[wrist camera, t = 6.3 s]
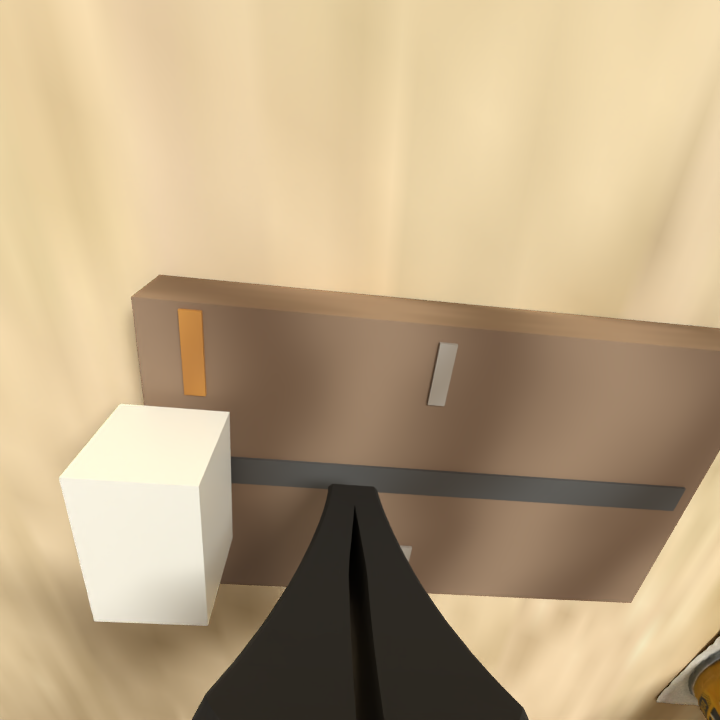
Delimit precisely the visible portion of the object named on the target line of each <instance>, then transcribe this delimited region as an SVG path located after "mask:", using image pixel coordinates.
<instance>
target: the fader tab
mask: <svg viewBox="0 0 720 720" xmlns="http://www.w3.org/2000/svg"><path fill="white" fill-rule="evenodd" d="M59 480H60V484H61V488H62V492H63V496H64V500H65V504H66V508H67V513H68V517H69V521H70V525H71V529H72V533H73V537H74V541H75V545H76V549H77V553H78V557H79V561H80V565H81V570H82V574H83V578H84V582H85V586H86V590H87V594H88V598H89V602H90V606H91V610H92V614H93V618H94V621H99V622H124V623H148V624H173V625H198V626H208V624H209V621H210V617H211V614H212V610H213V606H214V603H215V599H216V596H217V592H218V588H219V585H220V581H221V578H222V574H223V570H224V567H225V563H226V560H227V556H228V553H229V549H230V545H231V542H232V538H233V533H232V492H231V451H230V412H223V411H210V410H197V409H183V408H170V407H157V406H143V405H130V404H119V406H118V407H117V408H116V409H115V410H114V412H113V413H112V414H111V415H110V417H109V418H108V419H107V420H106V421H105V423H104V424H103V425H102V426H101V427H100V429H99V430H98V431H97V432H96V433H95V435H94V436H93V437H92V438H91V439H90V441H89V442H88V443H87V444H86V445H85V447H84V448H83V449H82V450H81V452H80V453H79V454H78V455H77V456H76V458H75V459H74V460H73V461H72V462H71V464H70V465H69V466H68V467H67V468H66V470H65V471H64V472H63V473H62V474H61V476H60V477H59Z"/></svg>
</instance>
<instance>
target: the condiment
mask: <svg viewBox="0 0 720 720" xmlns="http://www.w3.org/2000/svg"><path fill="white" fill-rule="evenodd" d="M657 702H663V703H671V704H676V703H677V704H681V705H684V704H688V705H697V706H699V707H700V709H701V711H702V712H703V714H704V716H705V717H706V718H707V720H720V636H719V637H718V638H717V639H716V641H715V642H714V643H713V645H710V646H709V647H708V648H707V649H706V650H705V651H703V652H702V653H701V654H700V655H698V656H697V657H696V658H695V659H694V660H693V661H692V662H690V664H689V665H688V666H687V667H686V669H685V670H683V671H682V672H681V673H680V674H679V676H677V677H676V678H675V679H674V680H673V681H672V682H671V684H670V685H669V687H667V688H665V689H664V691H663V692H662V693H661V694H660V696H659V697H658V699H657Z"/></svg>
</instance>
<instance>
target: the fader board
mask: <svg viewBox="0 0 720 720" xmlns="http://www.w3.org/2000/svg"><path fill="white" fill-rule="evenodd" d="M131 300H132V308H133V316H134V324H135V332H136V340H137V348H138V356H139V365H140V373H141V381H142V389H143V397H144V405H145V406H157V407H170V408H183V409H197V410H210V411H223V412H230V451H231V492H232V533H233V538H232V542H231V545H230V549H229V553H228V556H227V560H226V563H225V567H224V570H223V574H222V578H221V581H220V584H240V585H261V586H283V587H287V586H288V584H289V583H290V581H291V579H292V577H293V576H294V574H295V572H296V570H297V568H298V567H299V565H300V563H301V561H302V559H303V557H304V555H305V553H306V551H307V549H308V547H309V545H310V542H311V540H312V538H313V535H314V533H315V531H316V528H317V526H318V523H319V521H320V518H321V515H322V512H323V509H324V506H325V503H326V499H327V494H328V486H330V485H331V484H343V485H358V486H373V487H375V488H376V489H377V491H378V495H379V498H380V501H381V504H382V507H383V509H384V512H385V514H386V517H387V519H388V521H389V524H390V526H391V528H392V530H393V533H394V535H395V537H396V539H397V541H398V543H399V545H400V547H401V549H402V551H403V553H404V555H405V557H406V559H407V560H408V562H409V564H410V566H411V567H412V569H413V571H414V573H415V575H416V576H417V578H418V579H419V581H420V583H421V584H422V586H423V588H424V589H425V591H426V592H427V593H431V594H452V595H474V596H495V597H516V598H537V599H558V600H580V601H601V602H622V603H631V602H632V600H633V598H634V597H635V595H636V593H637V592H638V590H639V588H640V586H641V585H642V583H643V581H644V580H645V578H646V576H647V574H648V573H649V571H650V569H651V567H652V566H653V564H654V562H655V561H656V559H657V557H658V555H659V554H660V552H661V550H662V549H663V547H664V545H665V543H666V542H667V540H668V538H669V537H670V535H671V533H672V531H673V530H674V528H675V526H676V525H677V523H678V521H679V519H680V518H681V516H682V514H683V512H684V511H685V509H686V507H687V506H688V504H689V502H690V500H691V499H692V497H693V495H694V494H695V492H696V490H697V488H698V487H699V485H700V483H701V482H702V480H703V478H704V476H705V475H706V473H707V471H708V470H709V468H710V466H711V464H712V463H713V461H714V459H715V457H716V456H717V454H718V452H719V451H720V329H719V328H709V327H698V326H688V325H677V324H667V323H656V322H646V321H635V320H625V319H615V318H604V317H594V316H583V315H573V314H562V313H552V312H541V311H531V310H521V309H510V308H500V307H489V306H479V305H468V304H458V303H448V302H437V301H427V300H416V299H406V298H395V297H385V296H374V295H364V294H354V293H343V292H333V291H322V290H312V289H301V288H291V287H281V286H270V285H260V284H249V283H239V282H228V281H218V280H207V279H197V278H187V277H176V276H166V275H159V276H157V277H156V278H155V279H154V280H152V281H151V282H150V283H148V284H147V285H146V286H144V287H143V288H142V289H141V290H139V291H138V292H137V293H135V294H134V295H133V296H132V297H131Z"/></svg>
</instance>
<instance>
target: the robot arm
mask: <svg viewBox="0 0 720 720" xmlns="http://www.w3.org/2000/svg"><path fill="white" fill-rule="evenodd" d="M192 720H529V719H528V717H527V715H526V712H525V710H524V708H523V707H522V706H521V705H520V704H519V703H518V702H517V701H516V700H515V699H514V698H513V697H512V696H511V695H510V694H509V693H508V692H507V691H506V690H505V689H504V688H503V687H502V686H501V685H500V684H499V683H498V682H497V680H496V679H495V678H494V677H493V676H492V675H491V674H490V673H489V672H488V671H487V670H486V668H485V667H484V666H483V665H482V664H481V663H480V662H479V661H478V659H477V658H476V657H475V656H474V655H473V654H472V653H471V651H470V650H469V649H468V648H467V646H466V645H465V644H464V643H463V641H462V640H461V639H460V638H459V636H458V635H457V634H456V633H455V631H454V630H453V629H452V628H451V626H450V625H449V624H448V622H447V621H446V620H445V618H444V617H443V616H442V614H441V613H440V611H439V610H438V609H437V607H436V606H435V604H434V603H433V601H432V600H431V598H430V597H429V595H428V594H427V592H426V591H425V589H424V588H423V586H422V584H421V583H420V581H419V579H418V578H417V576H416V575H415V573H414V571H413V569H412V567H411V566H410V564H409V562H408V560H407V559H406V557H405V555H404V553H403V551H402V549H401V547H400V545H399V543H398V541H397V539H396V537H395V535H394V533H393V530H392V528H391V526H390V524H389V521H388V519H387V517H386V514H385V512H384V509H383V507H382V504H381V501H380V498H379V495H378V491H377V489H376V488H375V487H373V486H358V485H343V484H331V485H330V486H328V494H327V499H326V503H325V506H324V509H323V512H322V515H321V518H320V521H319V523H318V526H317V528H316V531H315V533H314V535H313V538H312V540H311V542H310V545H309V547H308V549H307V551H306V553H305V555H304V557H303V559H302V561H301V563H300V565H299V567H298V568H297V570H296V572H295V574H294V576H293V577H292V579H291V581H290V583H289V584H288V586H287V588H286V589H285V591H284V593H283V594H282V596H281V597H280V599H279V600H278V602H277V604H276V605H275V607H274V608H273V610H272V611H271V613H270V614H269V616H268V617H267V619H266V620H265V621H264V623H263V624H262V626H261V627H260V628H259V630H258V631H257V632H256V634H255V635H254V636H253V638H252V639H251V640H250V642H249V643H248V644H247V645H246V647H245V648H244V649H243V651H242V652H241V653H240V655H239V656H238V657H237V658H236V660H235V661H234V662H233V663H232V664H231V666H230V667H229V668H228V669H227V670H226V671H225V672H224V674H223V675H222V676H221V677H220V678H219V679H218V681H217V682H216V683H215V684H214V685H213V686H212V687H211V689H210V690H209V691H208V692H207V693H206V695H205V696H204V698H203V700H202V702H201V704H200V705H199V707H198V709H197V711H196V713H195V715H194V717H193V719H192Z"/></svg>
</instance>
